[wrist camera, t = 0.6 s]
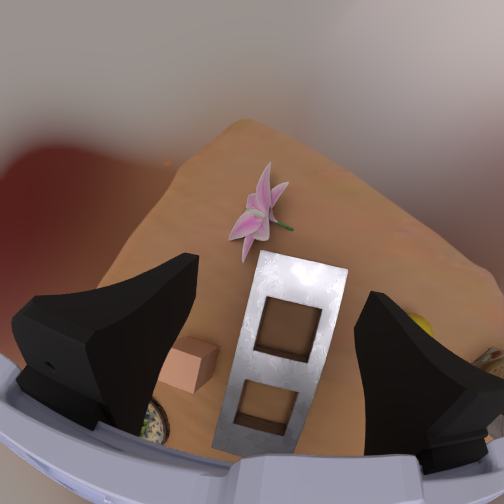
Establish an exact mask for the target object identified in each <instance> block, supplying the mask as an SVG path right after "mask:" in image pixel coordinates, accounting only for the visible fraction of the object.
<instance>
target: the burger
mask: <svg viewBox="0 0 504 504" xmlns="http://www.w3.org/2000/svg"><path fill="white" fill-rule="evenodd" d="M166 417H167V415H166V413H165V410H164V409H163V407H159V406H156V405H155V404H154V403H153V402H152V401H151V400H150V403H149V406H148V409H147V412H146V415H145V419H144V422H143V426H142V429H141V433H140V438H143V439H145V440H148V441H151V442H154V443H157V444H160V445H164V444H165V443H166V442H167V440H168V437H169V433H170V424H169V422H167V421H168V418H167V419H166Z"/></svg>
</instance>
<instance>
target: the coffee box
mask: <svg viewBox="0 0 504 504" xmlns="http://www.w3.org/2000/svg"><path fill="white" fill-rule="evenodd" d="M472 365H474V366H476V367H478V368H480V369H482V370H484V371H486V372H488V373H490V374H493V375H495V376H498V377H500V378H503V379H504V351H502V350H499V349H495V348H491V349H490V350H488V351H487V352H486V353H485V354H484V355H482V356H481V357H480V358H479V359H478V360H476V361H475V362H474V363H473V364H472ZM486 428H487V431H488V434H489V435H490V436H491V437H493V438H494V439H497V438H500V437H503V436H504V411H503V412H502V413H501V414H500V415H499V416H498V417H497V418H496V419H495V420H494V421H493V422H492V423H491V424H490V425H489V426H488V427H486Z"/></svg>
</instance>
